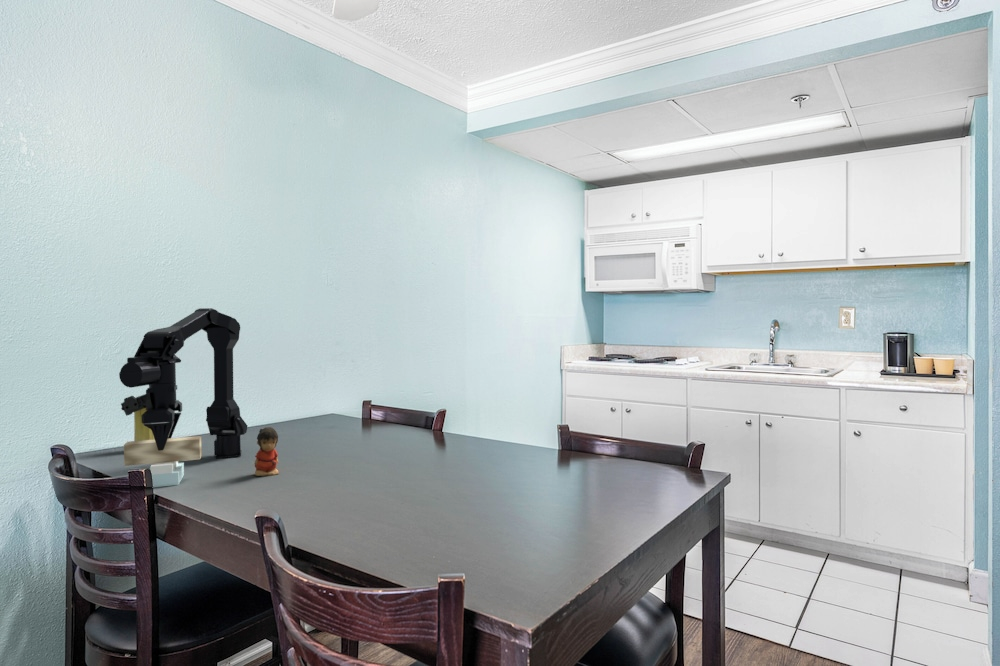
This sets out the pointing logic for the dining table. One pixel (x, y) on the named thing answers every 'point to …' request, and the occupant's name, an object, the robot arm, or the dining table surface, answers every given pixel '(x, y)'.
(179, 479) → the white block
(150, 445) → the beam
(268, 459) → the figurine
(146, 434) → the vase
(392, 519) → the dining table surface
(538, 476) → the dining table surface
